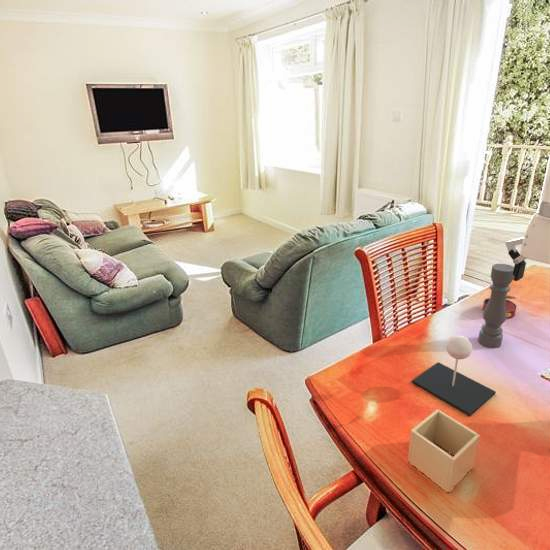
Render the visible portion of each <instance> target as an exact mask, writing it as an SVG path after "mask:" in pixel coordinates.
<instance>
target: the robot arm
mask: <svg viewBox="0 0 550 550" xmlns="http://www.w3.org/2000/svg"><path fill="white" fill-rule="evenodd" d="M540 193H541V194H540V197H539V202H538V207H537V211H536V212H534V213H533V214H532V216H531V218H530V220H529V223H528V225H527V228H526V230H525V233H524V236H523V237H520V238H519V237H518V238H515V239H511V240H508V241H506V242H505V246H506V249H507V253H508V255H509V257H510V259H511V260H512V263H513V264H514V266H513V267H514V271H513V275H514V280H513V281H514V282H518V281H520V280H522V279H523V278H524V276H525V275H524V274H525V270H526V266H527V262H526V261H525V260H530V261H533V262H534V261H535V262H538V263H543V264H547V265H550V156H549V157H548V160H547V166H546V170H545V175H544V179H543V184H542V189H541V192H540ZM519 245H521V247H520V252H519V251H518V249H516V246H519Z"/></svg>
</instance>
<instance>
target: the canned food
mask: <svg viewBox="0 0 550 550" xmlns="http://www.w3.org/2000/svg"><path fill="white" fill-rule="evenodd" d="M511 299H514V300H515V299H516V296H511V295H508V294H507V295H506V300H505V305H506V316H507V318H506V320H509V319H512V318H514V317H515V316H516V312H517V308H518V307H517V304H515V302H513V301H511ZM489 300H490V297H488V298H487V297H486V298H485V299H483V305H482V313H483V312H484V310H485V308H486V306H487V304H488V302H489Z"/></svg>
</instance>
